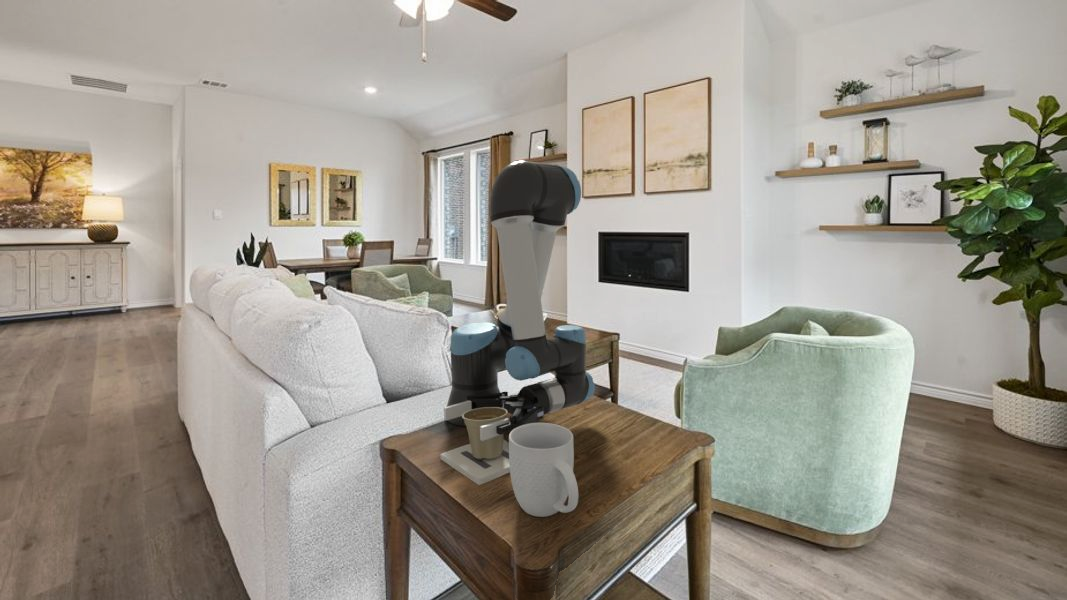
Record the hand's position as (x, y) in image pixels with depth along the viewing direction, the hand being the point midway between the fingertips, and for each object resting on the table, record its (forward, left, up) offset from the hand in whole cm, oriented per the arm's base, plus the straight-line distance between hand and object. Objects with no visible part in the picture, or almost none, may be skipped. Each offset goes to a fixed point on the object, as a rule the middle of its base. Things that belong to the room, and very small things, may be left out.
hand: (461, 423), depth 99 cm
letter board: (+3, +4, -9) cm, 10 cm away
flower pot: (+3, +4, -7) cm, 9 cm away
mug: (+24, +1, -9) cm, 25 cm away
